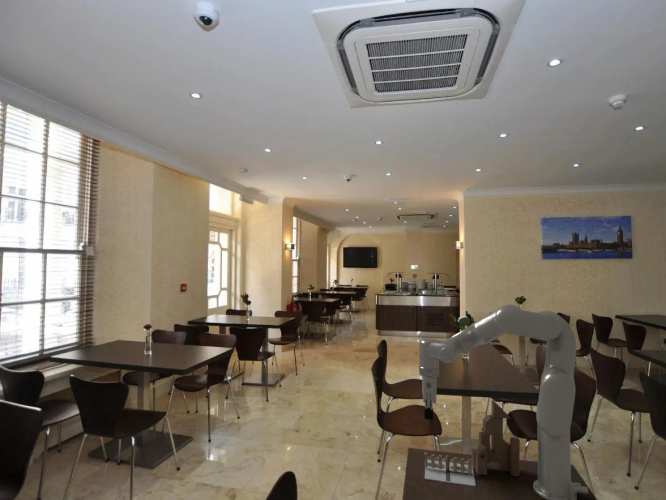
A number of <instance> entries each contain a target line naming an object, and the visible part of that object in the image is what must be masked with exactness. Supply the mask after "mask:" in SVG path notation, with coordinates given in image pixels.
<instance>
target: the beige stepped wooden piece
mask: <svg viewBox="0 0 666 500" xmlns="http://www.w3.org/2000/svg"><path fill="white" fill-rule="evenodd" d="M450 457H451V456H450V455H448V454H446V455H445V457H443V455H442V454H441V455H440V454H439V455H438V456H436V454H432V453H431V456H430V455H428V452H426V451H424V452H423V467H424V468H425V467H427V466H429V467H431V468H435V467H436V468H439V469H442V468H444V469H445V465H443V464H442V462H446V471H450V462H451V458H450ZM427 460H431V463H428V461H427ZM435 461H439V464H435Z"/></svg>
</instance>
